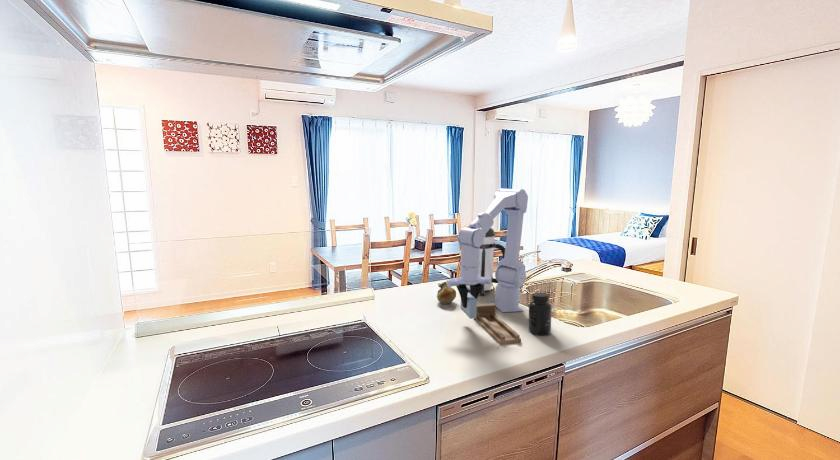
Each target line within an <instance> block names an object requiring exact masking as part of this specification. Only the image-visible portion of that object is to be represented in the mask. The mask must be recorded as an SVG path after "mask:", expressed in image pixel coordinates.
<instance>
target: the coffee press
mask: <svg viewBox="0 0 840 460" xmlns="http://www.w3.org/2000/svg"><path fill="white" fill-rule="evenodd" d="M495 237H496V233H495V230H494V229H493V227H491V228H490V229H489V230H488V231H487V233H486V235H485V238H484V241H483V244H482V245H481V246H480V249H479V277H490V278H491V279H492V284H481V286H482V291H481V292H480V294H479V295H480V296H484V297H485V291H489V290H491V291H496V287H495V286H494V285H493V284H498V281H497V280H496V278H494V275H493V274H494V255H495V254H494V253H495V249H498V250H500V251H501V255H502V259H504V255H505V246H503V245H501V244H499V243H496V242H495ZM466 286H467V289H468V290H470V285H466Z"/></svg>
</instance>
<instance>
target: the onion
mask: <svg viewBox="0 0 840 460" xmlns="http://www.w3.org/2000/svg"><path fill="white" fill-rule="evenodd" d="M437 286H438V287H439V288H440V289H438V291H437V294H436V299H437V301H438V302H439V303H440V304H443V305H448V304H451V303H452V302H453V301H454V300H455V299H456V297H457V292H456V291H457V290H455V288H453V287H448V286H447V281H444V282H440V283H438V284H437Z"/></svg>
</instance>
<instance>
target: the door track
mask: <svg viewBox="0 0 840 460" xmlns="http://www.w3.org/2000/svg"><path fill="white" fill-rule="evenodd" d="M496 308H497V307H496V305H495V304H494V302H492V303H479V304H478V303H477V315H476V318H473V320H474V321H475V322H476V323H477V324H479V326H480V327H481V328H482V329H483V330H485V332H486V333H488V335H489V336H490V337H491V338H492V339H493V340H494V341H495V342H497V343H498V345H503V344H514V343H521V342H522V338H521V337H520V334H519V333H517V332H516V330H514V329H513V328H512V327H511V326H510V325H508V324H507V323H506V322H505V321H504V320H503V319H501V318H500V317H499V316H498V315H496Z"/></svg>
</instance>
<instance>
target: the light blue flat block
mask: <svg viewBox="0 0 840 460" xmlns="http://www.w3.org/2000/svg"><path fill="white" fill-rule="evenodd" d="M477 304H478V298H477V299H476V298H475V297H473V296H472V295H471V294H470V291H468V295H467V308H464V307H463V306H462V300H461V299H460V310H461V311H462V312H463V313H464V314H465V315H466V316H467V317H468V318H469V319H473V320H474V318H476V315H477Z"/></svg>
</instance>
